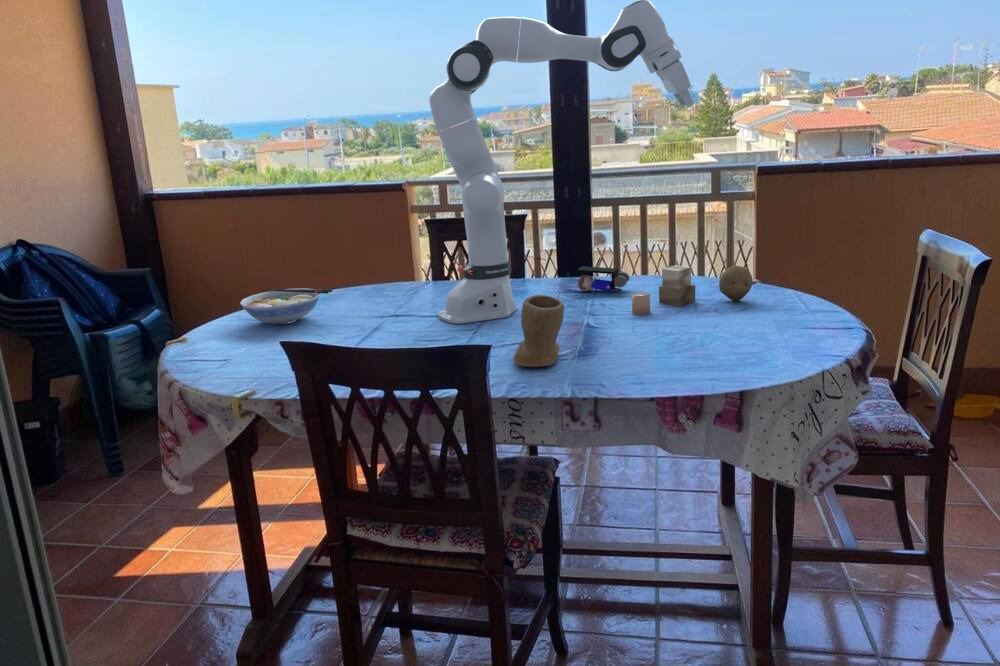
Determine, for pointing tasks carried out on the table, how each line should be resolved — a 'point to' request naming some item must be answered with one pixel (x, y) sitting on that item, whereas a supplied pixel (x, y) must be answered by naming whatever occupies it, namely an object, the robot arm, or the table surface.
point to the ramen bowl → (282, 304)
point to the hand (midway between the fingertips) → (687, 105)
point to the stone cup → (539, 331)
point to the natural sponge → (735, 282)
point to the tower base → (677, 295)
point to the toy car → (588, 282)
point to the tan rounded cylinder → (641, 303)
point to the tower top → (676, 276)
